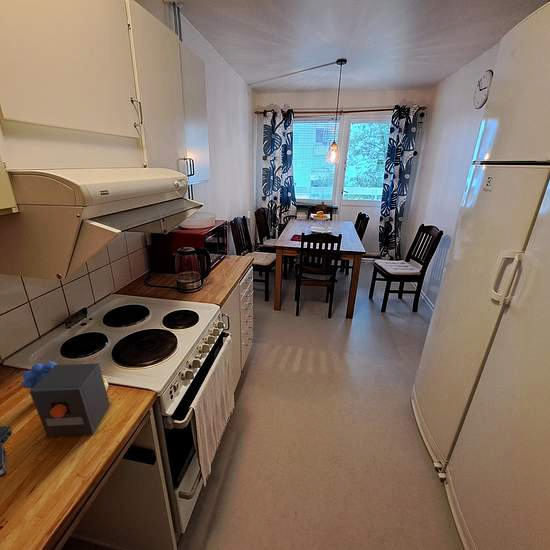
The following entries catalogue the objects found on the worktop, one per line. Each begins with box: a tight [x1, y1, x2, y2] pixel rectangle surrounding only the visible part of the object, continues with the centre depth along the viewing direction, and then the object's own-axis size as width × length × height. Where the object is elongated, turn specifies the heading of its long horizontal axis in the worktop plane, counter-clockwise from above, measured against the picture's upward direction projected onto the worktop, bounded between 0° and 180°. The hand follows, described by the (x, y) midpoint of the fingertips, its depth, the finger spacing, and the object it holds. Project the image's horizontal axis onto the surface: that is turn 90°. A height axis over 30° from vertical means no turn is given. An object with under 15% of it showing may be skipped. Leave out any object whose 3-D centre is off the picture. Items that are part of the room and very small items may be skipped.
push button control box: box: [29, 363, 111, 438], centre depth 80 cm, size 12×10×16 cm
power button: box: [50, 404, 67, 418], centre depth 74 cm, size 3×2×3 cm, turn 94°
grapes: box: [21, 361, 58, 391], centre depth 90 cm, size 12×7×12 cm, turn 132°
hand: (6, 428), depth 58 cm, fingers closed
